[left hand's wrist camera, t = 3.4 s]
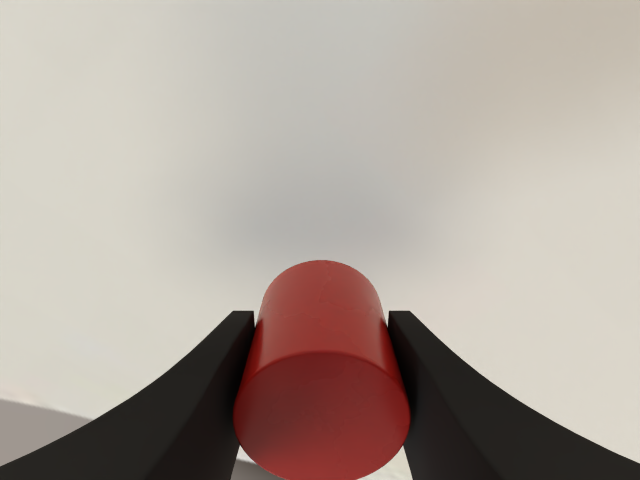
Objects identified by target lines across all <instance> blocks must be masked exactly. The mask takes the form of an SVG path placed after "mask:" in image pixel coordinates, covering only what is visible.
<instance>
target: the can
mask: <svg viewBox="0 0 640 480" xmlns="http://www.w3.org/2000/svg"><path fill="white" fill-rule="evenodd" d="M232 418H233V427H234V431H235V434H236V437H237V439H238V441H239V444H240V445H241V447H242V448H243V450H244V451H245V452H246V454H247V455H248V456H249V457H250V458H251V459H252V460H253V461H254V462H255V463H256V464H258V465H259V466H260V467H262V468H263V469H265V470H266V471H268V472H270V473H272V474H274V475H276V476H279V477H281V478H284V479H287V480H357V479H359V478H362V477H365V476H367V475H369V474H371V473H373V472H375V471H377V470H378V469H380V468H381V467H383V466H384V465H385V464H387V463H388V462H389V461H390V460H391V459H392V458H393V457H394V456H395V455H396V454H397V453H398V451H399V450H400V449H401V447H402V446H403V444H404V442H405V440H406V438H407V435H408V432H409V428H410V422H411V409H410V405H409V400H408V397H407V393H406V390H405V386H404V383H403V379H402V376H401V373H400V369H399V366H398V362H397V359H396V355H395V352H394V348H393V345H392V341H391V338H390V334H389V331H388V327H387V324H386V320H385V317H384V314H383V310H382V307H381V303H380V300H379V297H378V294H377V292H376V290H375V288H374V287H373V285H372V284H371V283H370V281H369V280H368V279H367V278H366V277H365V276H364V275H363V274H361V273H360V272H359V271H357V270H355V269H354V268H352V267H350V266H347V265H345V264H342V263H339V262H335V261H328V260H315V261H308V262H304V263H300V264H297V265H295V266H293V267H291V268H289V269H287V270H285V271H284V272H282V273H281V274H280V275H279V276H278V277H276V278H275V279H274V281H273V282H272V283H271V284H270V286H269V287H268V289H267V290H266V293H265V295H264V297H263V301H262V305H261V308H260V312H259V315H258V319H257V323H256V326H255V330H254V333H253V337H252V341H251V344H250V348H249V352H248V355H247V359H246V362H245V366H244V370H243V373H242V377H241V380H240V384H239V388H238V391H237V395H236V398H235V402H234V406H233V415H232Z"/></svg>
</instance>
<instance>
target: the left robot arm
mask: <svg viewBox="0 0 640 480" xmlns="http://www.w3.org/2000/svg"><path fill="white" fill-rule="evenodd" d="M254 330H255V323H254V311H233V312H231V313H230V314H229V315H228V316H227V317H226V318H225V319H224V320H223V321H222V322H221V323H220V324H219V325H218V326H217V327H216V328H215V329H214V330H213V331H212V332H211V333H210V334H209V335H208V336H207V337H206V338H205V339H204V340H202V341H201V342H200V343H199V344H198V345H197V346H196V347H195V348H194V349H193V350H192V351H191V352H190V353H188V354H187V355H186V356H185V357H184V358H182V359H181V360H180V361H179V362H178V363H177V364H175V365H174V366H173V367H172V368H171V369H169V370H168V371H167V372H166V373H164V374H163V375H162V376H160V377H159V378H158V379H156V380H155V381H154V382H152V383H151V384H150V385H148V386H147V387H145V388H144V389H142V390H141V391H140V392H138V393H137V394H135V395H134V396H132V397H131V398H129V399H128V400H126V401H124V402H123V403H121V404H119V405H118V406H116V407H115V408H113V409H111V410H110V411H108V412H106V413H105V414H103V415H101V416H100V417H98V418H97V419H95V420H93V421H91V422H90V423H88V424H86V425H84V426H82V427H81V428H79V429H77V430H75V431H73V432H71V433H70V434H68V435H66V436H64V437H62V438H60V439H58V440H56V441H54V442H52V443H50V444H48V445H46V446H44V447H42V448H40V449H38V450H36V451H34V452H32V453H29V454H27V455H25V456H23V457H21V458H18V459H16V460H14V461H12V462H9V463H7V464H5V465H3V466H0V480H230V479H231V474H232V471H233V467H234V464H235V460H236V457H237V453H238V450H239V446H240V444H239V441H238V439H237V437H236V434H235V431H234V427H233V418H232V415H233V406H234V402H235V398H236V395H237V391H238V388H239V384H240V380H241V377H242V373H243V370H244V366H245V362H246V359H247V355H248V352H249V348H250V344H251V341H252V337H253V333H254ZM388 331H389V334H390V338H391V341H392V345H393V348H394V352H395V355H396V359H397V362H398V366H399V369H400V373H401V376H402V379H403V383H404V386H405V390H406V393H407V397H408V400H409V405H410V409H411V422H410V428H409V432H408V435H407V438H406V440H405V442H404V444H403V446H404V450H405V453H406V457H407V460H408V464H409V467H410V470H411V474H412V478H413V480H640V463H637V462H635V461H633V460H630V459H628V458H626V457H623V456H621V455H619V454H617V453H614V452H612V451H610V450H608V449H606V448H604V447H602V446H600V445H598V444H596V443H594V442H592V441H590V440H588V439H586V438H584V437H582V436H580V435H578V434H576V433H574V432H572V431H570V430H568V429H567V428H565V427H563V426H561V425H559V424H557V423H555V422H554V421H552V420H550V419H549V418H547V417H545V416H543V415H542V414H540V413H538V412H537V411H535V410H533V409H531V408H530V407H528V406H526V405H525V404H523V403H522V402H520V401H518V400H517V399H515V398H514V397H512V396H511V395H509V394H508V393H506V392H505V391H503V390H502V389H501V388H499V387H498V386H496V385H495V384H493V383H492V382H490V381H489V380H488V379H486V378H485V377H484V376H482V375H481V374H480V373H478V372H477V371H476V370H475V369H473V368H472V367H471V366H470V365H468V364H467V363H466V362H465V361H463V360H462V359H461V358H460V357H459V356H457V355H456V354H455V353H454V352H453V351H452V350H451V349H449V348H448V347H447V346H446V345H445V344H444V343H443V342H442V341H441V340H439V339H438V338H437V337H436V336H435V335H434V334H433V333H432V332H431V331H430V330H429V329H428V328H427V327H426V326H425V325H424V324H423V323H422V322H421V321H420V320H419V319H418V318H417V317H416V316H415V315H414V314H412V313H411V312H410V311H389V318H388Z"/></svg>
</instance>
